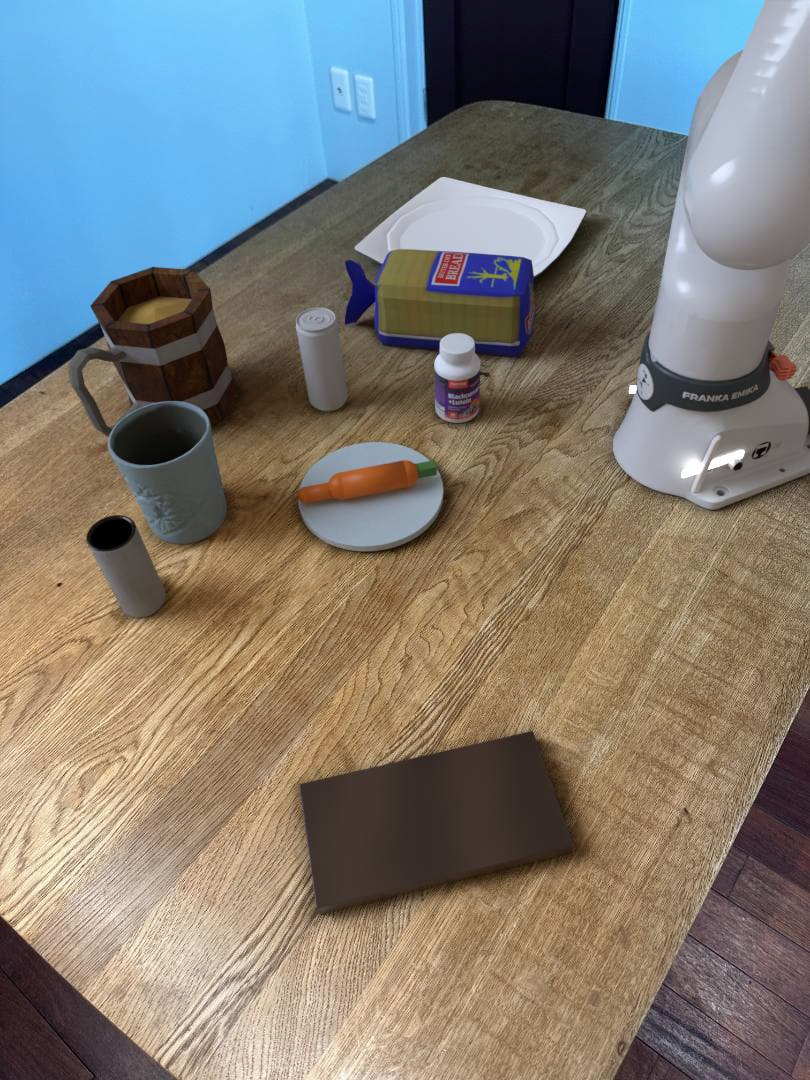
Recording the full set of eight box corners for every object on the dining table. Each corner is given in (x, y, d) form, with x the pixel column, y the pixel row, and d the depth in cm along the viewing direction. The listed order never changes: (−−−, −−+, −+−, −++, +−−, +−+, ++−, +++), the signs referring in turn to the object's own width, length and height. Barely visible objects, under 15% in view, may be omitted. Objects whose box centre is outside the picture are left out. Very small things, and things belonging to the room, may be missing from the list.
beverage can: (342, 415, 99) (330, 332, 90) (305, 412, 100) (289, 329, 91) (352, 391, 102) (341, 308, 93) (315, 387, 103) (301, 305, 94)
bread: (527, 365, 104) (532, 294, 96) (341, 347, 109) (332, 278, 101) (536, 320, 110) (542, 249, 103) (361, 305, 115) (354, 237, 107)
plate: (596, 224, 126) (599, 208, 124) (511, 317, 111) (512, 300, 109) (439, 187, 137) (439, 171, 135) (342, 267, 122) (340, 250, 120)
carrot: (432, 468, 91) (431, 449, 88) (439, 487, 89) (438, 467, 86) (297, 495, 89) (293, 475, 87) (300, 514, 87) (296, 494, 85)
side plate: (425, 438, 96) (424, 430, 95) (459, 536, 85) (459, 529, 84) (291, 463, 94) (289, 456, 93) (309, 566, 84) (308, 559, 83)
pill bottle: (449, 430, 97) (447, 362, 89) (427, 405, 100) (424, 338, 93) (488, 414, 98) (490, 347, 91) (465, 390, 101) (465, 323, 94)
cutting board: (531, 739, 70) (532, 730, 69) (572, 852, 63) (574, 845, 62) (301, 791, 68) (299, 783, 67) (318, 914, 61) (316, 908, 60)
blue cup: (145, 558, 86) (108, 476, 77) (140, 493, 92) (105, 411, 83) (240, 535, 87) (215, 453, 78) (228, 473, 94) (204, 390, 85)
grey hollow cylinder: (144, 625, 80) (110, 558, 72) (111, 606, 82) (75, 539, 74) (175, 593, 82) (146, 525, 75) (143, 576, 84) (111, 508, 76)
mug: (185, 357, 109) (153, 254, 98) (260, 390, 104) (235, 285, 92) (70, 441, 99) (20, 337, 88) (146, 482, 93) (102, 377, 82)
